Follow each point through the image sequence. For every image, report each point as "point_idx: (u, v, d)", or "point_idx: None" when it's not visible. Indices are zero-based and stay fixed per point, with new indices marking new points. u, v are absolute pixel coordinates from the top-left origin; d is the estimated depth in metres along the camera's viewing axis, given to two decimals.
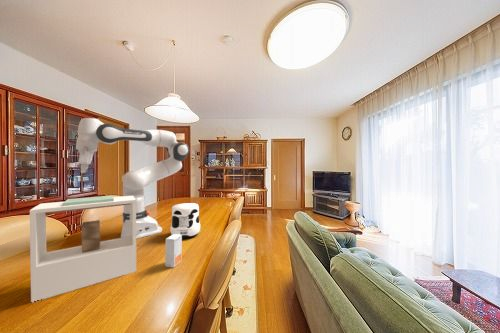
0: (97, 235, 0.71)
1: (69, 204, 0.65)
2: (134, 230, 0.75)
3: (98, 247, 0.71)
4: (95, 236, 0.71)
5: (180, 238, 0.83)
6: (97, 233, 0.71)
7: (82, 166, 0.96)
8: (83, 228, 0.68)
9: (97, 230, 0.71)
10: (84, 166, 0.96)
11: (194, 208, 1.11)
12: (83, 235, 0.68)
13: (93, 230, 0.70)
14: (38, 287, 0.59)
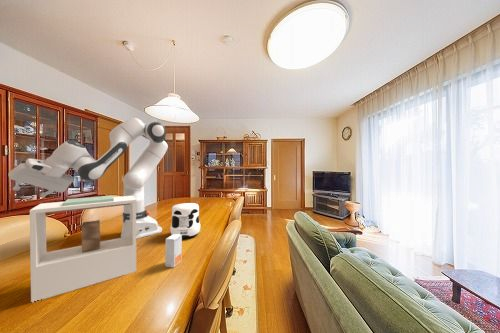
0: (97, 235, 0.71)
1: (69, 204, 0.65)
2: (134, 230, 0.75)
3: (98, 247, 0.71)
4: (95, 236, 0.71)
5: (180, 238, 0.83)
6: (97, 233, 0.71)
7: None
8: (83, 228, 0.68)
9: (97, 230, 0.71)
10: None
11: (194, 208, 1.11)
12: (83, 235, 0.68)
13: (93, 230, 0.70)
14: (38, 287, 0.59)
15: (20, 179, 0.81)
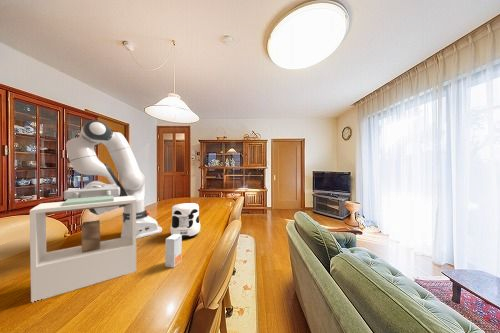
0: (97, 235, 0.71)
1: (69, 204, 0.65)
2: (134, 230, 0.75)
3: (98, 247, 0.71)
4: (95, 236, 0.71)
5: (180, 238, 0.83)
6: (97, 233, 0.71)
7: (74, 195, 0.82)
8: (83, 228, 0.68)
9: (97, 230, 0.71)
10: (74, 194, 0.82)
11: (194, 208, 1.11)
12: (83, 235, 0.68)
13: (93, 230, 0.70)
14: (38, 287, 0.59)
15: (111, 195, 0.91)
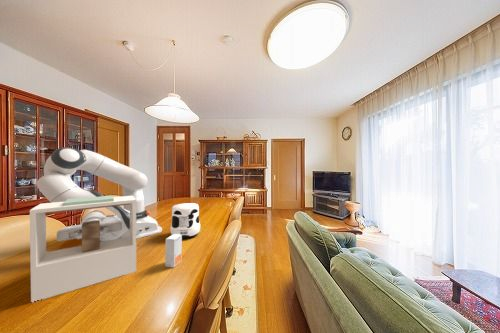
0: (97, 235, 0.71)
1: (69, 204, 0.65)
2: (134, 230, 0.75)
3: (98, 247, 0.71)
4: (95, 236, 0.71)
5: (180, 238, 0.83)
6: (97, 233, 0.71)
7: (74, 236, 0.71)
8: (83, 228, 0.68)
9: (97, 230, 0.71)
10: (74, 234, 0.71)
11: (194, 208, 1.11)
12: (83, 235, 0.68)
13: (93, 230, 0.70)
14: (38, 287, 0.59)
15: None
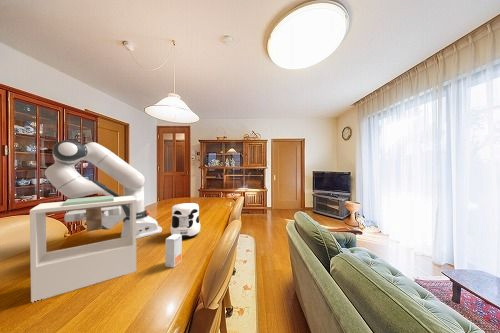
0: (99, 217, 0.82)
1: (69, 204, 0.65)
2: (134, 230, 0.75)
3: (100, 227, 0.82)
4: (97, 217, 0.82)
5: (180, 238, 0.83)
6: (99, 215, 0.82)
7: (79, 218, 0.82)
8: (87, 210, 0.80)
9: (99, 212, 0.82)
10: (79, 216, 0.82)
11: (194, 208, 1.11)
12: (87, 216, 0.80)
13: (96, 212, 0.81)
14: (38, 287, 0.59)
15: None
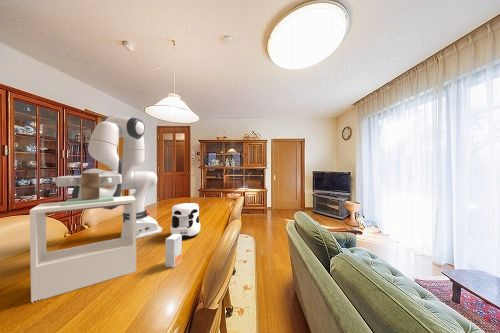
0: (97, 185, 0.71)
1: (69, 204, 0.65)
2: (134, 230, 0.75)
3: (98, 197, 0.71)
4: (95, 185, 0.70)
5: (180, 238, 0.83)
6: (97, 183, 0.71)
7: (68, 182, 0.70)
8: (82, 175, 0.68)
9: (97, 180, 0.71)
10: (68, 180, 0.70)
11: (194, 208, 1.11)
12: (83, 183, 0.68)
13: (93, 179, 0.70)
14: (38, 287, 0.59)
15: (112, 183, 0.79)
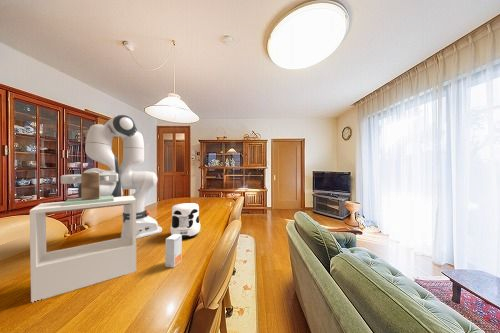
0: (97, 185, 0.71)
1: (69, 204, 0.65)
2: (134, 230, 0.75)
3: (98, 197, 0.71)
4: (95, 185, 0.70)
5: (180, 238, 0.83)
6: (97, 183, 0.71)
7: (71, 180, 0.80)
8: (82, 175, 0.68)
9: (97, 180, 0.71)
10: (71, 178, 0.80)
11: (194, 208, 1.11)
12: (83, 183, 0.68)
13: (93, 179, 0.70)
14: (38, 287, 0.59)
15: (109, 181, 0.89)
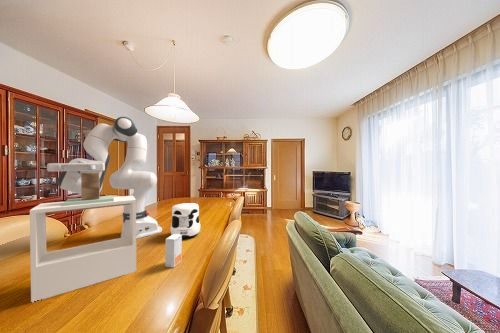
0: (97, 185, 0.71)
1: (69, 204, 0.65)
2: (134, 230, 0.75)
3: (98, 197, 0.71)
4: (95, 185, 0.70)
5: (180, 238, 0.83)
6: (97, 183, 0.71)
7: (57, 168, 0.83)
8: (82, 175, 0.68)
9: (97, 180, 0.71)
10: (57, 166, 0.83)
11: (194, 208, 1.11)
12: (83, 183, 0.68)
13: (93, 179, 0.70)
14: (38, 287, 0.59)
15: (96, 170, 0.92)
